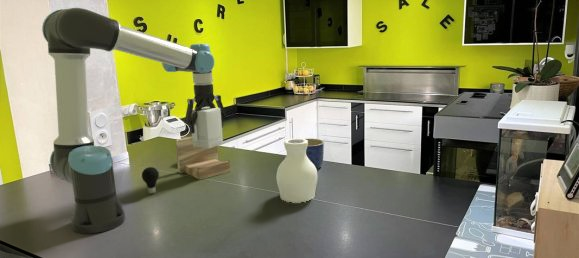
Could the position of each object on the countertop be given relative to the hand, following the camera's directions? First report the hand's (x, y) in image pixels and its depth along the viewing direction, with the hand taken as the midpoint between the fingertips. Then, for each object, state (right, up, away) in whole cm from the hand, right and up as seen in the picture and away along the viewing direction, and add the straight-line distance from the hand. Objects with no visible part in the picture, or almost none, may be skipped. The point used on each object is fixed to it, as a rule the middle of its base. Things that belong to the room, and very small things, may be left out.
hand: (207, 138), depth 175 cm
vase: (+36, -20, -25) cm, 48 cm away
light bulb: (-17, -20, -18) cm, 32 cm away
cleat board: (-2, -14, +5) cm, 15 cm away
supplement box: (0, -3, +1) cm, 3 cm away
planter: (+42, -13, +7) cm, 44 cm away
